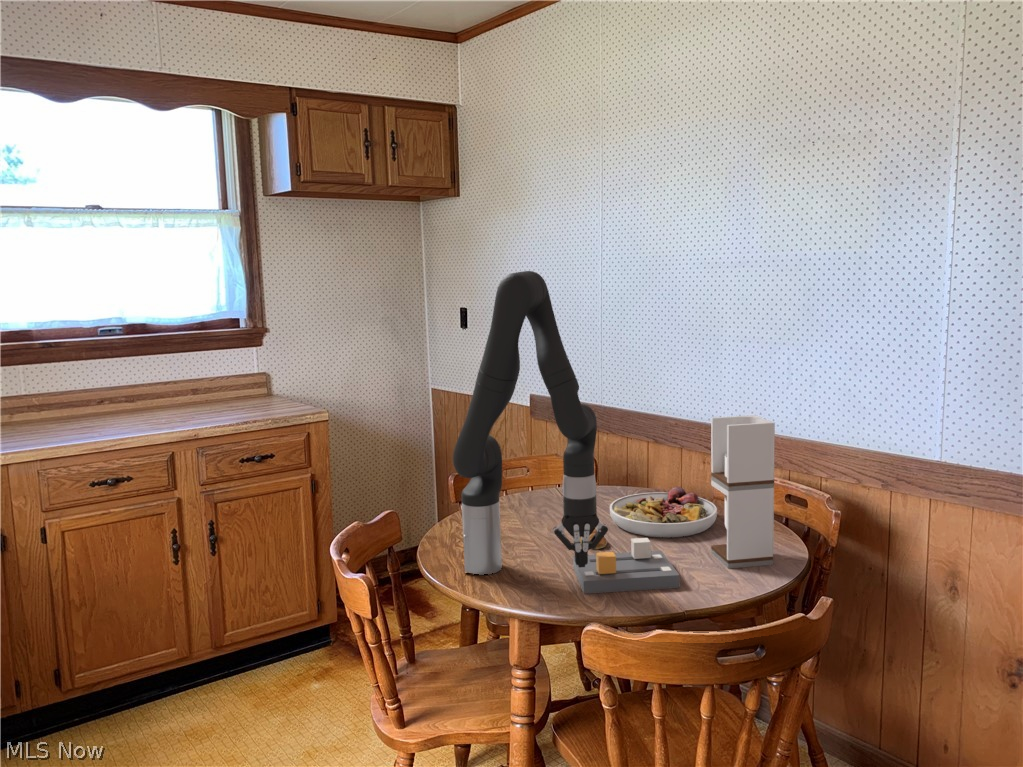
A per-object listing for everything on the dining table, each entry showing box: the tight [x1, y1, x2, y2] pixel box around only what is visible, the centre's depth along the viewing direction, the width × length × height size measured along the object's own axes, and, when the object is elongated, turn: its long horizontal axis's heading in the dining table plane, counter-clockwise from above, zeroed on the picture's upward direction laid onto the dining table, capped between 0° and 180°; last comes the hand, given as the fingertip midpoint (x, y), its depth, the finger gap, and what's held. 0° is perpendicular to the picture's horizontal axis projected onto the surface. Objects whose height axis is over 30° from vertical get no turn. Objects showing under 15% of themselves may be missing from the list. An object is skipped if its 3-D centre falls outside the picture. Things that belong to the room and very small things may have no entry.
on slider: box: [630, 537, 652, 559], centre depth 190 cm, size 4×3×4 cm
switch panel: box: [572, 550, 681, 595], centre depth 187 cm, size 22×16×3 cm
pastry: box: [580, 528, 608, 551], centre depth 210 cm, size 9×7×4 cm
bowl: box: [609, 486, 718, 539], centre depth 225 cm, size 30×30×8 cm
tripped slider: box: [595, 551, 616, 574], centre depth 182 cm, size 4×3×4 cm
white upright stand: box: [710, 414, 776, 569], centre depth 193 cm, size 11×11×35 cm
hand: (581, 566), depth 181 cm, fingers closed
